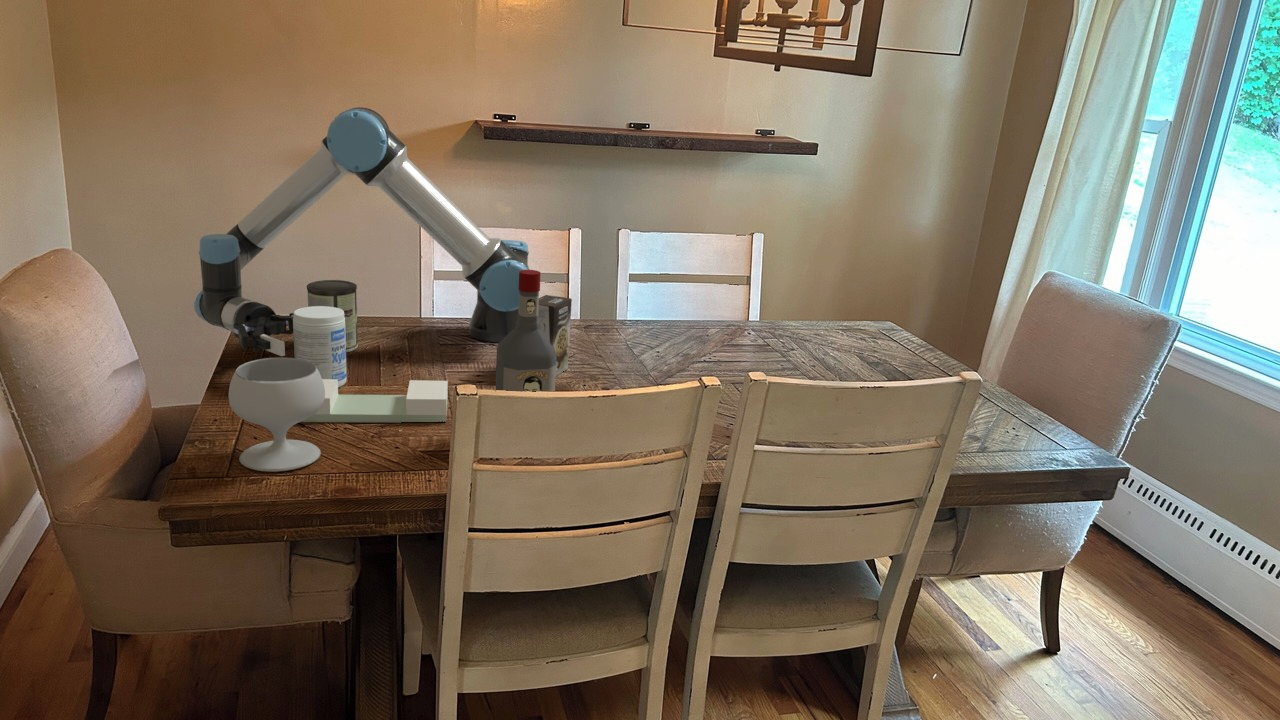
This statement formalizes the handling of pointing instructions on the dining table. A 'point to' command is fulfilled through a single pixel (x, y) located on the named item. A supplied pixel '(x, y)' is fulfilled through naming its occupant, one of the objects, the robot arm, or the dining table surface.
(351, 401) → the rail
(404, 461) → the dining table surface
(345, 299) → the coffee can
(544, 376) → the liquor
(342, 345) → the supplement tub
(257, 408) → the chalice
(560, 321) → the coffee box
